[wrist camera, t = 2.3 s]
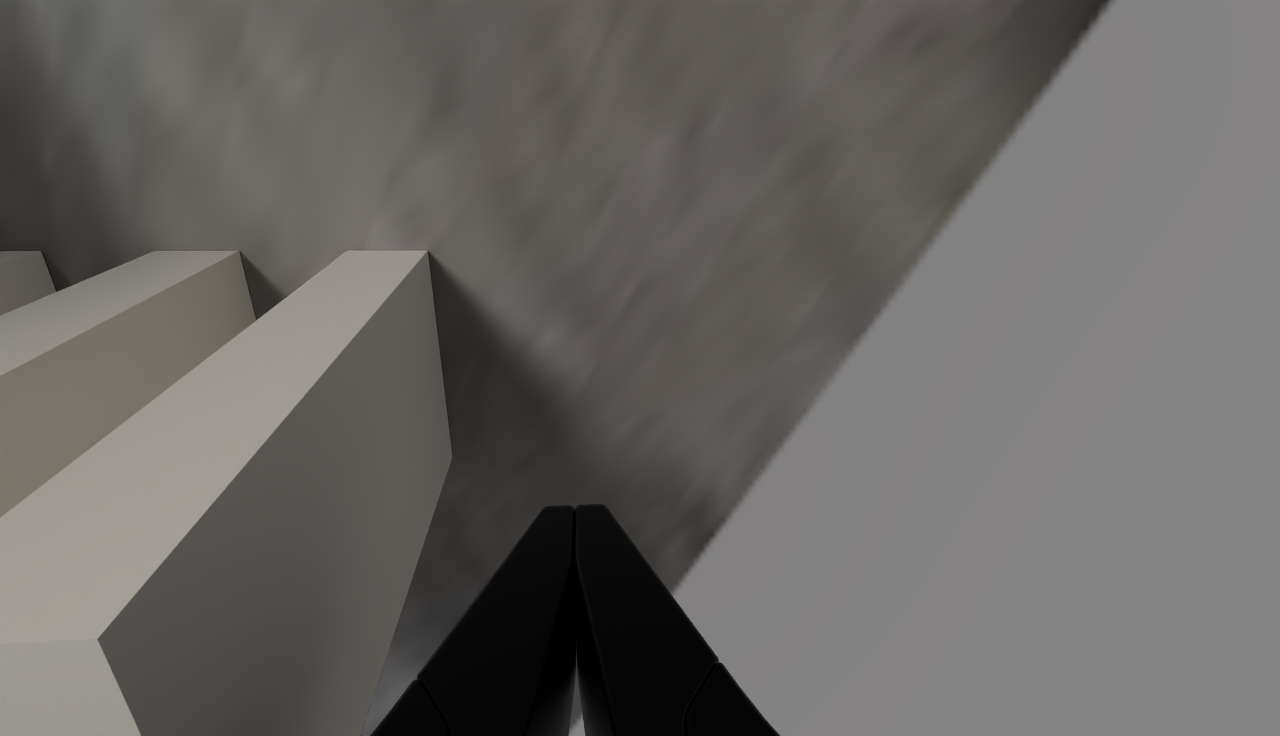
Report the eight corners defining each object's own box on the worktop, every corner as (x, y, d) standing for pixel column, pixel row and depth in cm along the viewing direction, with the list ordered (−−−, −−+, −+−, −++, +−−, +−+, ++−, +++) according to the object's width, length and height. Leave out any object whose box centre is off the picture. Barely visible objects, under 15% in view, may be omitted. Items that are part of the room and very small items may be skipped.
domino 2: (216, 464, 15) (-350, 1074, 6) (152, 251, 13) (-888, 685, 4) (290, 461, 15) (-152, 1056, 6) (239, 250, 13) (-563, 671, 4)
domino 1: (382, 459, 15) (89, 1032, 6) (345, 250, 13) (-182, 651, 4) (452, 457, 15) (268, 1014, 6) (427, 250, 13) (97, 639, 4)
